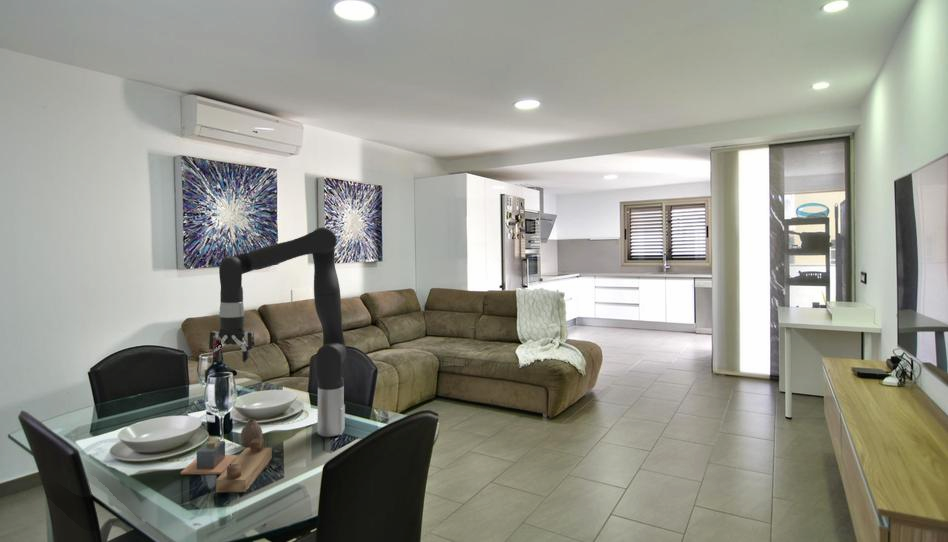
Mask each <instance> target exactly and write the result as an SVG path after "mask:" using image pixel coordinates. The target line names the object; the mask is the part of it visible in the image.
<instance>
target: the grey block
mask: <svg viewBox="0 0 948 542" xmlns="http://www.w3.org/2000/svg"><path fill="white" fill-rule="evenodd" d="M225 455H226V441H225V440H221V438H211V439H210V440H208V441H207V442H205V444H203V445H202V446H200V448H199V449H198V450H196V458H197V469H214V468H215V467H216V466H217V465H218V464H219V463H220V462H221V461H222V460H223V459H224V458H225Z"/></svg>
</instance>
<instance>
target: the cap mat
mask: <svg viewBox="0 0 948 542" xmlns="http://www.w3.org/2000/svg"><path fill="white" fill-rule="evenodd" d="M238 456H239V455H238V454H225V458H224V459H223V460H222V461H221V462H220V463H219V464H218V465H217V466H216V467H215V468H214V469H197V457H196V458H194V460H193V461H192V462H189V464H188V465H187V466H186V467H185V468H184V469H182V471H180V475H221V474H222V473H223V472H224V471H225V470H226V469H227V467H228V466H229V465H230V464H231V463H232V462H233V461H234V460H235V459H236V458H237V457H238Z"/></svg>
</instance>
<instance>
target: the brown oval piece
mask: <svg viewBox="0 0 948 542" xmlns="http://www.w3.org/2000/svg"><path fill="white" fill-rule="evenodd" d="M239 438H240V442H241V445H242V446H243V447H245V448H250V443H251V441H252V440H253V439H263V429H262V427H261V426H260V424H259V423H257V421H256V420H255V419H248V420H247V422H246V424H245V425H244V426H243V428H242V429H241V432H240V437H239Z"/></svg>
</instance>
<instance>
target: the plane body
mask: <svg viewBox="0 0 948 542" xmlns="http://www.w3.org/2000/svg"><path fill="white" fill-rule="evenodd" d="M264 442H265V441H264V438H262V439H253V440H252V441H251V443H250V448H246V447H245V448H244V450H243V451H242V452H240V453H239V455H238V457H237V458H236V459H235V460H234V461H233V462H232V463H231V465H229V466H228V467H227V469H226V470H225V471H224V472H223V473H222V474H219V476H218V477H217V478H216V479H215V493H246V492H247V491H248V490H249V488H250V487H251V486H252V485H253V483H254V482H255V481H256V480H257V478H258V476H260V474H261V472H263V470H264V469H265V468H266V466H267V465H268V464H269V463H270V461H271V460H272V458H273V457H272V455H273V453H272V451H273V448H272V447H264ZM250 485H251V486H250ZM247 489H248V490H247ZM246 490H247V491H246Z"/></svg>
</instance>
